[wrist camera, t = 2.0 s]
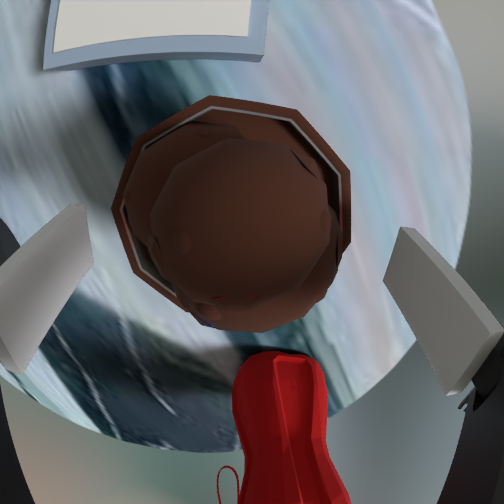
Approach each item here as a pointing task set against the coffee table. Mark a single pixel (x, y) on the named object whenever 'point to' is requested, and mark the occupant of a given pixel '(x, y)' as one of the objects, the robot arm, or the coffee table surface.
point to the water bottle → (284, 432)
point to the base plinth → (153, 31)
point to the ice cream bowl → (235, 213)
